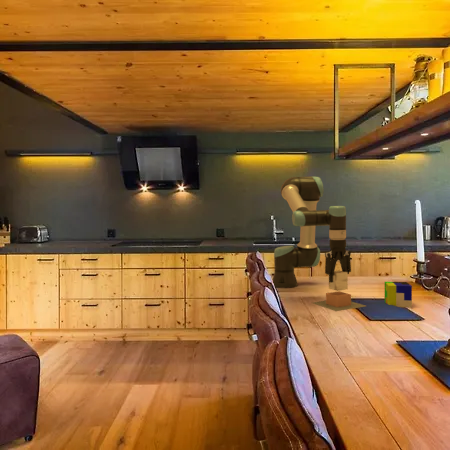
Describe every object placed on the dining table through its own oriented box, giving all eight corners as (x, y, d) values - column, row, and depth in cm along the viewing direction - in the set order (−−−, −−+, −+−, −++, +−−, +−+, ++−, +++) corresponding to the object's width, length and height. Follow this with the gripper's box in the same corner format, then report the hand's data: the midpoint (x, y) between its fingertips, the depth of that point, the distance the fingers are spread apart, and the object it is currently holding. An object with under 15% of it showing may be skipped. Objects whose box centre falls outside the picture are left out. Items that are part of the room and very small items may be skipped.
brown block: (328, 288, 192) (328, 271, 192) (338, 287, 195) (338, 270, 194) (337, 290, 187) (337, 273, 186) (347, 289, 189) (347, 272, 189)
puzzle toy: (411, 307, 186) (411, 286, 186) (388, 307, 188) (388, 285, 188) (406, 302, 196) (406, 281, 195) (384, 302, 198) (384, 281, 197)
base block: (326, 303, 193) (325, 293, 193) (339, 301, 196) (339, 291, 196) (337, 307, 186) (337, 296, 185) (351, 305, 189) (350, 294, 189)
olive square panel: (311, 304, 195) (311, 302, 195) (340, 300, 203) (340, 298, 203) (336, 313, 179) (336, 311, 179) (367, 308, 187) (367, 306, 187)
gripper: (326, 240, 182) (327, 292, 183) (359, 238, 190) (359, 287, 191) (316, 239, 189) (316, 289, 190) (348, 237, 197) (348, 285, 198)
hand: (338, 288), depth 190 cm, fingers closed on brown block, 6 cm apart
